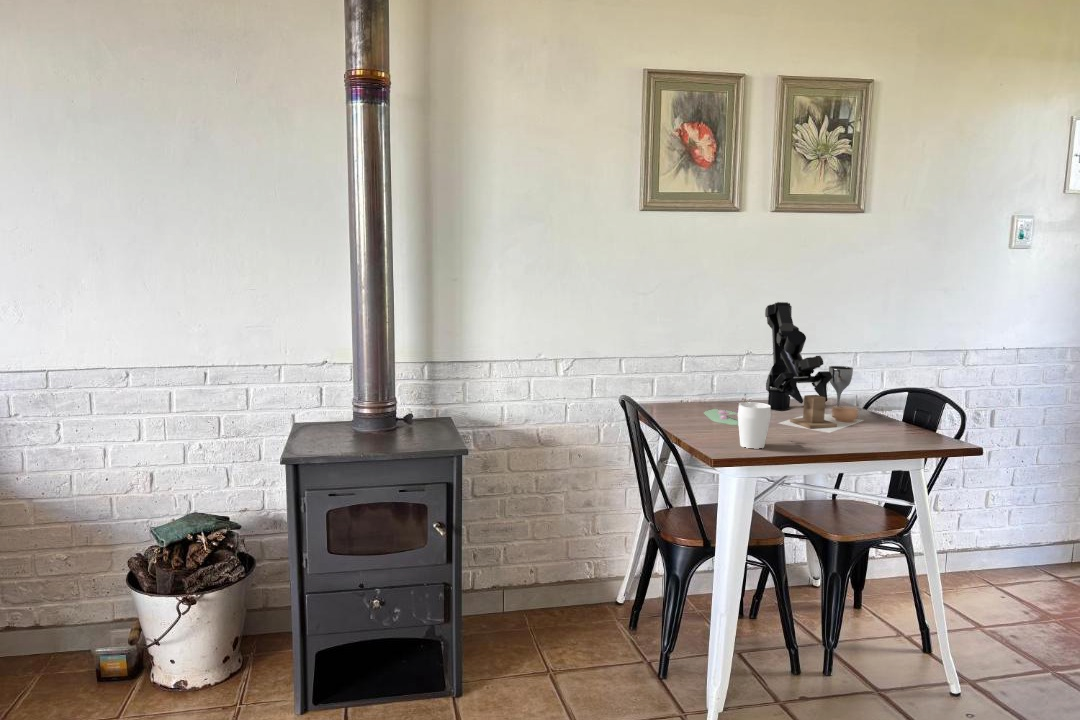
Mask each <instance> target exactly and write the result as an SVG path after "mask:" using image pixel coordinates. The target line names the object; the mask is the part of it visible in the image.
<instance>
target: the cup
mask: <svg viewBox="0 0 1080 720" xmlns="http://www.w3.org/2000/svg"><path fill="white" fill-rule="evenodd" d="M738 406H739V408H738V407H737V408H738V414H737V420H738V425H737V426H738V433H739V446H740V447H742V448H744V447H746V448H745V449H748V448H754V449H753V450H760V449H759V448H762V449H764V448H765V446H766V445H765V444H766V440H767V436H768V431H769V428H770V427H769V426H770V422H771V417H772V416H771V411H772V409H771V406H770V405H768V403H763V402H756V401H755V402H754V401H750V402H748V401H746V402H744V401H743V402H738Z"/></svg>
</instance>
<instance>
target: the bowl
mask: <svg viewBox="0 0 1080 720" xmlns="http://www.w3.org/2000/svg"><path fill="white" fill-rule="evenodd" d="M831 415H832V417H833V418H835V420H837V421H841V422H853V421H854V420H856V419H859V408H858V407H855V406H849V405H839V406H837V405H833V406H831Z"/></svg>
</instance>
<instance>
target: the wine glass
mask: <svg viewBox="0 0 1080 720" xmlns="http://www.w3.org/2000/svg"><path fill="white" fill-rule="evenodd" d="M828 371H829V372H830V373H831V375H832V377H833V378H832V379H831V380H830V381H829V383H830V386H831V387H832V388H833V389H834V391H835V392H836V400H837V402H836V406H840V400H841V396H842V393H843V391H845V390H846V389H847V387H849V385H850V384H851V382H852V379H853V374H854V368H853V367H850V366H843V365H830V366H828Z"/></svg>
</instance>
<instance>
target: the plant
mask: <svg viewBox="0 0 1080 720" xmlns="http://www.w3.org/2000/svg"><path fill="white" fill-rule="evenodd" d="M744 396H747V394H746V393H745V394H744ZM750 400H752V399H751V398H749V399H746V398H741V402H740V403H742V401H743V402H751V401H750ZM735 404H736V410H735V411H733V412H732V411H731V410H726V409H719V410H718V408H712V409H709V410H706V411H704V412H703V414H704V415H705V416H706V417H707V418H708V419H709V420H710V421H712V422H715V423H718V424H724V425H728V426H739V425H738V419H736V418H734V417H730V416H728V415H738V408H739V402H738V401H737V402H735ZM725 410H726V411H725Z"/></svg>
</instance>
